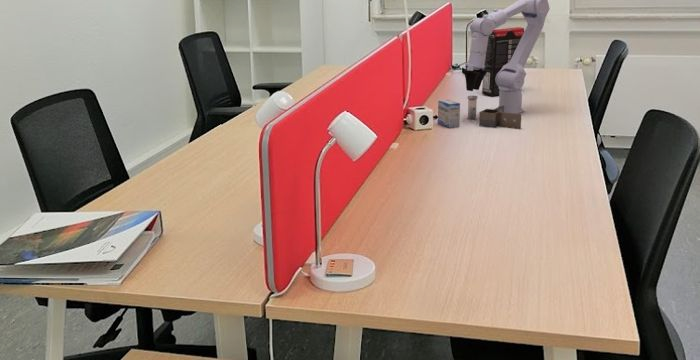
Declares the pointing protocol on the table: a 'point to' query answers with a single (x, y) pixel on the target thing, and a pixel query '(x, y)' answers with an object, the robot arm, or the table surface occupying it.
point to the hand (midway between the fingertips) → (472, 90)
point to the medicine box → (448, 113)
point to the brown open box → (502, 118)
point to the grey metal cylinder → (472, 107)
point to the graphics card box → (499, 55)
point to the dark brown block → (489, 122)
